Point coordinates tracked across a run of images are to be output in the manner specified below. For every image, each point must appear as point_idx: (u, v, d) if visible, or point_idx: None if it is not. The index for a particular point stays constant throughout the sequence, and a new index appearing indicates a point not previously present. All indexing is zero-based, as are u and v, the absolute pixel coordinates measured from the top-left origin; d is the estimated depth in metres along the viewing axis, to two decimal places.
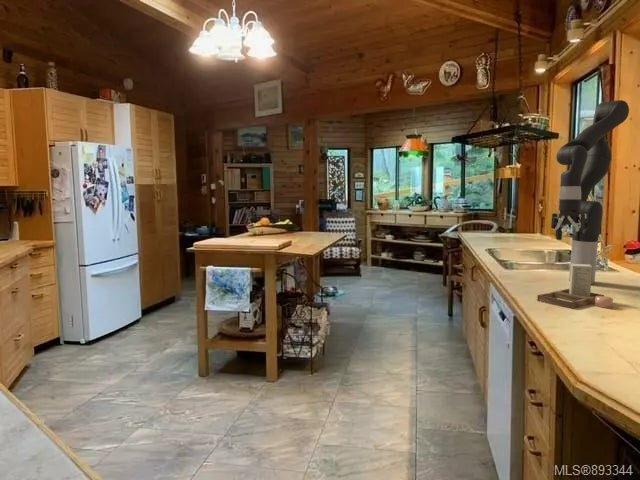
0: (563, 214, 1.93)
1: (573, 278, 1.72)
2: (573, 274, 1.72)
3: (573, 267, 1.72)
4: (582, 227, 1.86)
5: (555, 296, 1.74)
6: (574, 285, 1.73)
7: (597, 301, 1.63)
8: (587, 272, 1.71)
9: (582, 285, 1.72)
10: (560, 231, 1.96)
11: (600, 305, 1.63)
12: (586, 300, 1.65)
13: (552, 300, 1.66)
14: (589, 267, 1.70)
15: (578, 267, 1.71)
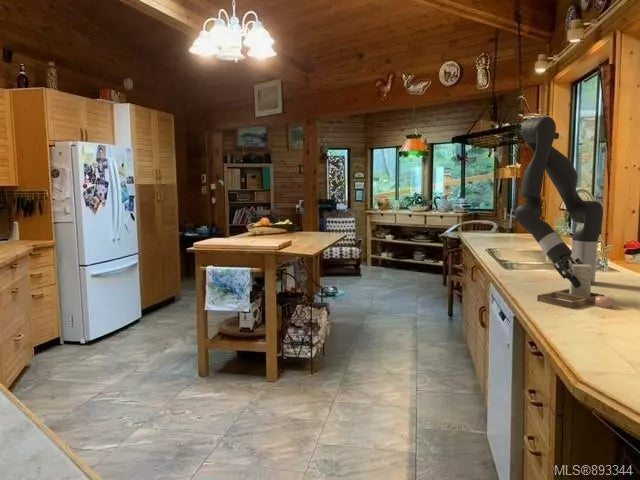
0: None
1: None
2: None
3: (573, 267, 1.72)
4: None
5: (555, 296, 1.74)
6: None
7: (597, 301, 1.63)
8: (587, 272, 1.71)
9: (582, 285, 1.72)
10: None
11: (600, 305, 1.63)
12: (586, 300, 1.65)
13: (552, 300, 1.66)
14: (589, 267, 1.70)
15: (578, 267, 1.71)
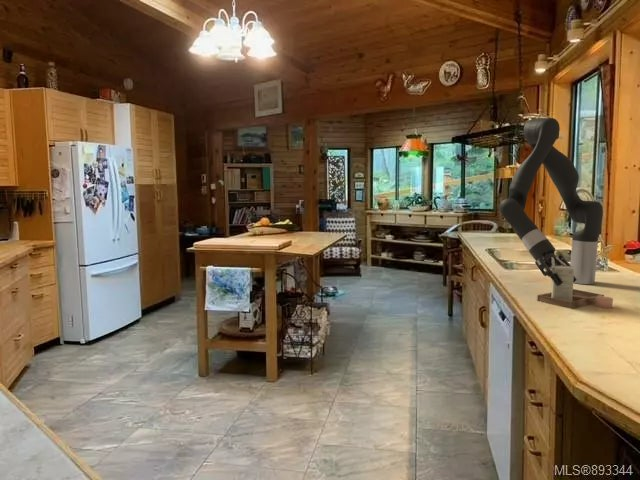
0: None
1: None
2: None
3: (554, 269, 1.66)
4: None
5: None
6: (555, 288, 1.66)
7: (597, 301, 1.63)
8: (569, 274, 1.64)
9: (564, 288, 1.65)
10: None
11: (600, 305, 1.63)
12: (586, 300, 1.65)
13: (552, 300, 1.66)
14: (571, 269, 1.64)
15: (560, 269, 1.65)
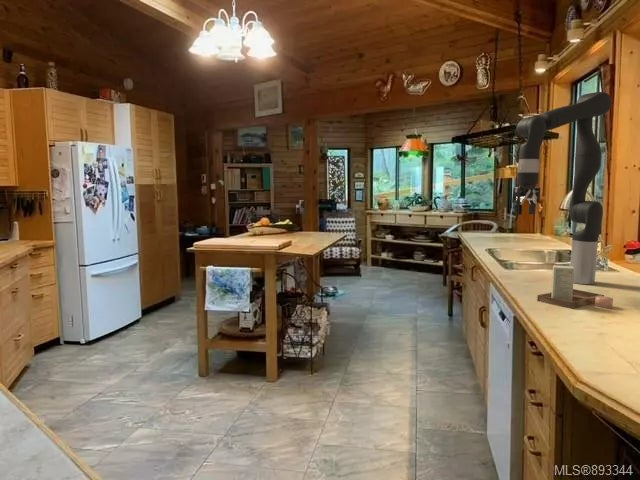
0: None
1: (555, 280, 1.66)
2: (555, 276, 1.66)
3: (554, 269, 1.66)
4: None
5: None
6: (555, 288, 1.66)
7: (597, 301, 1.63)
8: (569, 274, 1.64)
9: (564, 288, 1.65)
10: (532, 205, 1.91)
11: (600, 305, 1.63)
12: (586, 300, 1.65)
13: (552, 300, 1.66)
14: (571, 269, 1.64)
15: (560, 269, 1.65)
